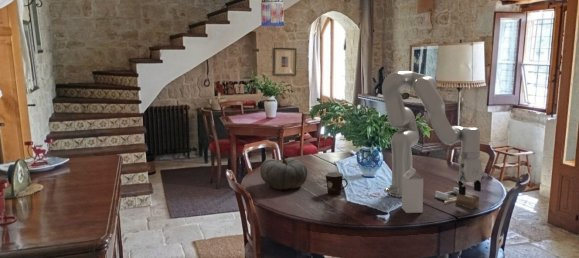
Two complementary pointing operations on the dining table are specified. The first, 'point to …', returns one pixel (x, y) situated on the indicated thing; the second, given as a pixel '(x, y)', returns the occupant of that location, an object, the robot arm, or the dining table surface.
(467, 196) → the brown rectangular block
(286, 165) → the gourd
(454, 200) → the door edge strip
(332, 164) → the dining table surface
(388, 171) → the dining table surface
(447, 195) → the keeper
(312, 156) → the dining table surface
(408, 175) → the milk carton
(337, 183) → the coffee mug
